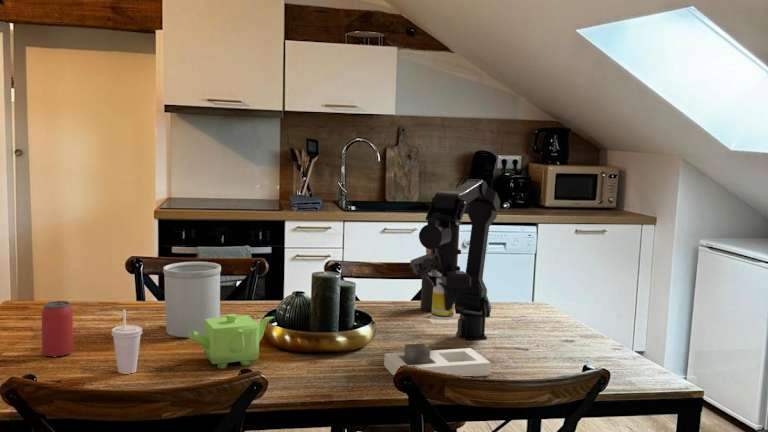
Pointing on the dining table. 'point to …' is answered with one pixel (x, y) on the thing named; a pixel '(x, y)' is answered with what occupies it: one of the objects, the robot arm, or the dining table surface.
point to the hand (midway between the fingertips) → (443, 307)
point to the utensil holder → (191, 296)
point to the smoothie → (126, 346)
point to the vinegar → (426, 291)
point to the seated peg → (416, 354)
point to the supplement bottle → (440, 303)
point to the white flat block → (445, 362)
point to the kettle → (231, 339)
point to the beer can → (57, 328)
